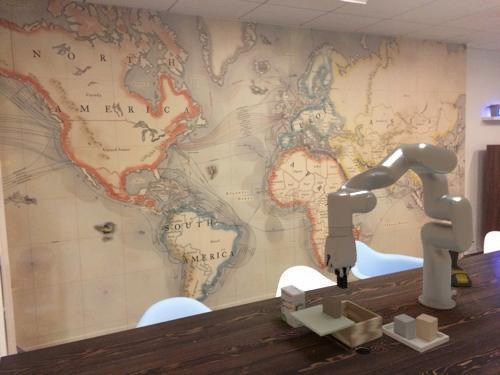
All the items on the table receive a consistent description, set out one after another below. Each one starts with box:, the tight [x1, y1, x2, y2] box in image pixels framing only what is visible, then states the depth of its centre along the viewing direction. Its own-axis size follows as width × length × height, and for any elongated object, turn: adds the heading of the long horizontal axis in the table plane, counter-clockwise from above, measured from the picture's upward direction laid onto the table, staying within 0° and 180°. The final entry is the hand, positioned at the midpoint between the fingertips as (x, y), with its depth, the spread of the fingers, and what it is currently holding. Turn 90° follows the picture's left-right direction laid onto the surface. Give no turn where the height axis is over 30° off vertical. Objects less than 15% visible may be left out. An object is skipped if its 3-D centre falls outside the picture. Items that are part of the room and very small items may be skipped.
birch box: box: [328, 299, 383, 348], centre depth 115 cm, size 13×16×7 cm
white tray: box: [382, 321, 450, 354], centre depth 111 cm, size 13×15×2 cm
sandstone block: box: [415, 313, 439, 342], centre depth 110 cm, size 4×4×6 cm
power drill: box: [448, 240, 475, 288], centre depth 154 cm, size 20×9×25 cm, turn 179°
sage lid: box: [290, 294, 355, 337], centre depth 109 cm, size 13×16×6 cm
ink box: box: [280, 284, 306, 329], centre depth 124 cm, size 8×5×12 cm, turn 27°
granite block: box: [393, 313, 416, 340], centre depth 110 cm, size 4×4×6 cm
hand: (342, 287), depth 112 cm, fingers closed
